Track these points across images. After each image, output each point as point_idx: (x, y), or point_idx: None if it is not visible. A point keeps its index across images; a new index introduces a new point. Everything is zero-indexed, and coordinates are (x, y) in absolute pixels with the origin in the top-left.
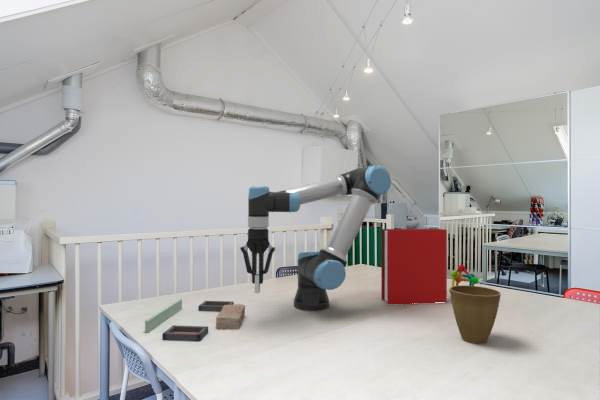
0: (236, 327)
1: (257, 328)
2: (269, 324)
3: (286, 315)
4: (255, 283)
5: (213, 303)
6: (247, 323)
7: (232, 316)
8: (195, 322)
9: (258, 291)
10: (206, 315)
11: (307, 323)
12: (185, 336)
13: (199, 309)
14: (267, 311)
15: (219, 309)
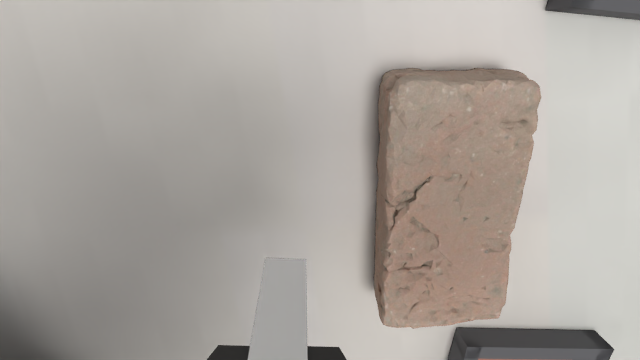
0: (393, 71)
1: (273, 87)
2: (218, 156)
3: (157, 294)
4: (297, 334)
5: None
6: (342, 168)
7: (439, 106)
8: (611, 174)
9: (265, 269)
10: (557, 274)
11: (3, 179)
12: None
13: (595, 335)
14: None
15: (503, 336)
